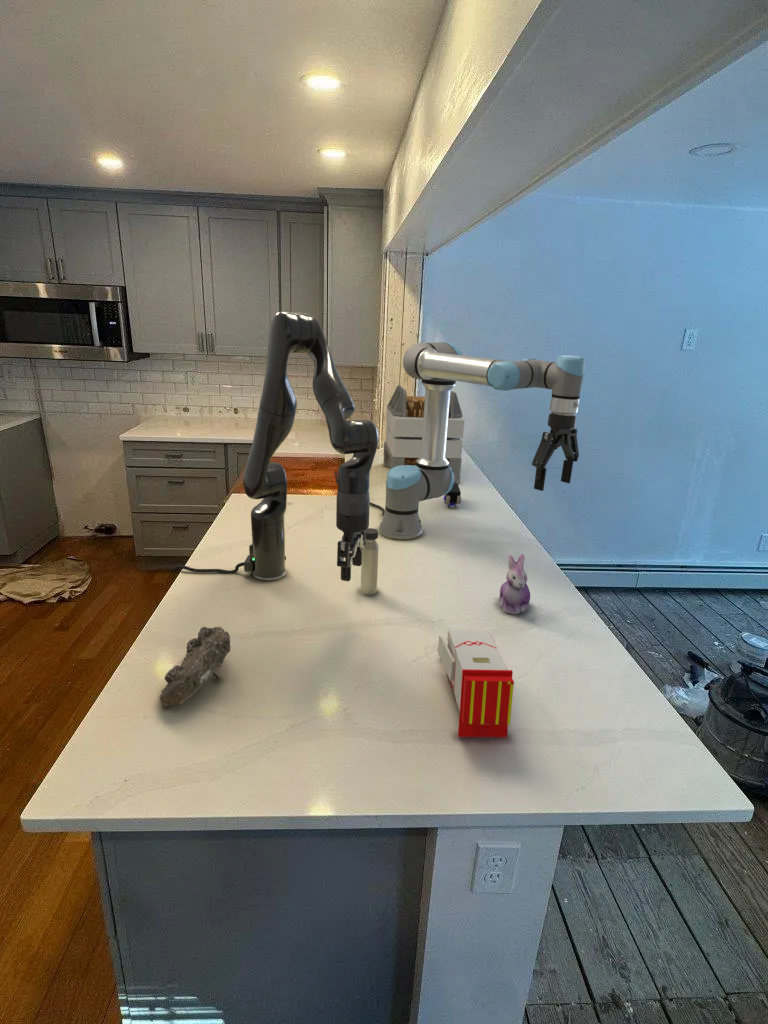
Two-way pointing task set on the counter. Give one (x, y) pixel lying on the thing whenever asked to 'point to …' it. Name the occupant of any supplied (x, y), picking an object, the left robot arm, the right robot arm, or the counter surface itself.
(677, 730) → the counter surface
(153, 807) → the counter surface
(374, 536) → the cap
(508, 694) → the toy
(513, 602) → the figurine
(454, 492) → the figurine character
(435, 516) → the counter surface
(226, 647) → the fossil
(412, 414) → the light grey slatted box
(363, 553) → the bottle
